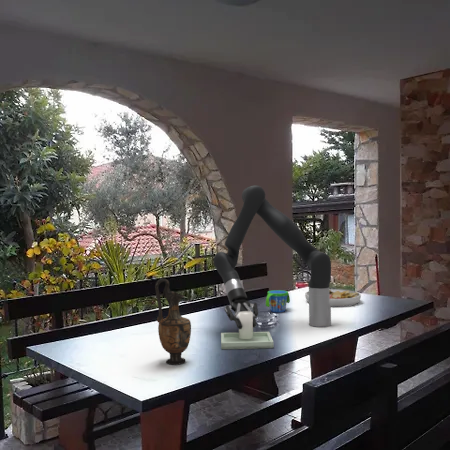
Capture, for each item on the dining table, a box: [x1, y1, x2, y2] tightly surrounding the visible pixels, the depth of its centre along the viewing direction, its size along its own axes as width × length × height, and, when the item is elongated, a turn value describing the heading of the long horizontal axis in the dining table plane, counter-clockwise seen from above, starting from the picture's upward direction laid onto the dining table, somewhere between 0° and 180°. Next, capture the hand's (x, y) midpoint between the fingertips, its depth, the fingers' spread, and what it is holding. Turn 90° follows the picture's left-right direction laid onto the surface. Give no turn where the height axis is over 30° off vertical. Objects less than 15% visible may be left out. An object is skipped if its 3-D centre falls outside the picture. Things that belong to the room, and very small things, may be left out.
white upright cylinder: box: [238, 311, 254, 339], centre depth 200 cm, size 6×6×10 cm
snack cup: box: [265, 289, 291, 313], centre depth 258 cm, size 16×10×10 cm
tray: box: [220, 331, 275, 350], centre depth 200 cm, size 20×15×2 cm
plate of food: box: [304, 288, 361, 308], centre depth 278 cm, size 30×30×8 cm
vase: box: [154, 278, 192, 366], centre depth 178 cm, size 12×12×30 cm
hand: (247, 327), depth 199 cm, fingers closed on white upright cylinder, 5 cm apart
